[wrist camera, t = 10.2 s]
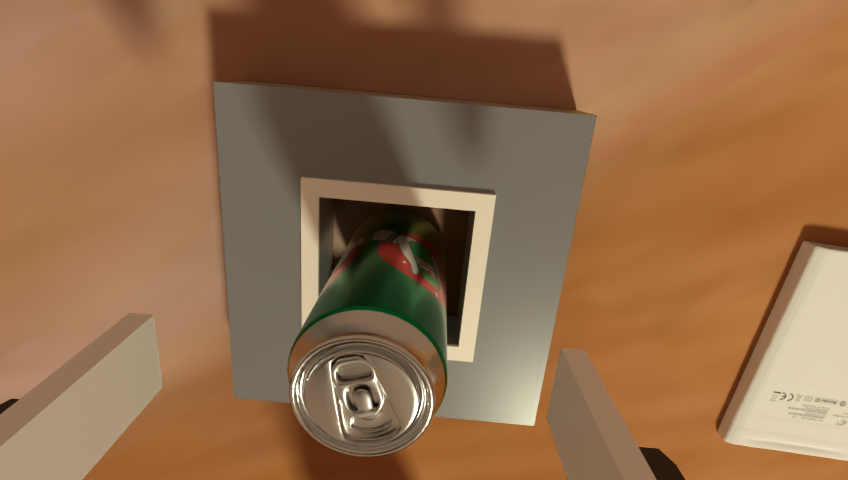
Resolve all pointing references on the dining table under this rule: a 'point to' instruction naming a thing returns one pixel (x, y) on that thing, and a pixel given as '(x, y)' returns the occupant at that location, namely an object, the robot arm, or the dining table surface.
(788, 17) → the dining table surface
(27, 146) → the dining table surface
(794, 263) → the external hard drive
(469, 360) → the socket board
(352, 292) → the soda can
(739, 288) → the dining table surface
